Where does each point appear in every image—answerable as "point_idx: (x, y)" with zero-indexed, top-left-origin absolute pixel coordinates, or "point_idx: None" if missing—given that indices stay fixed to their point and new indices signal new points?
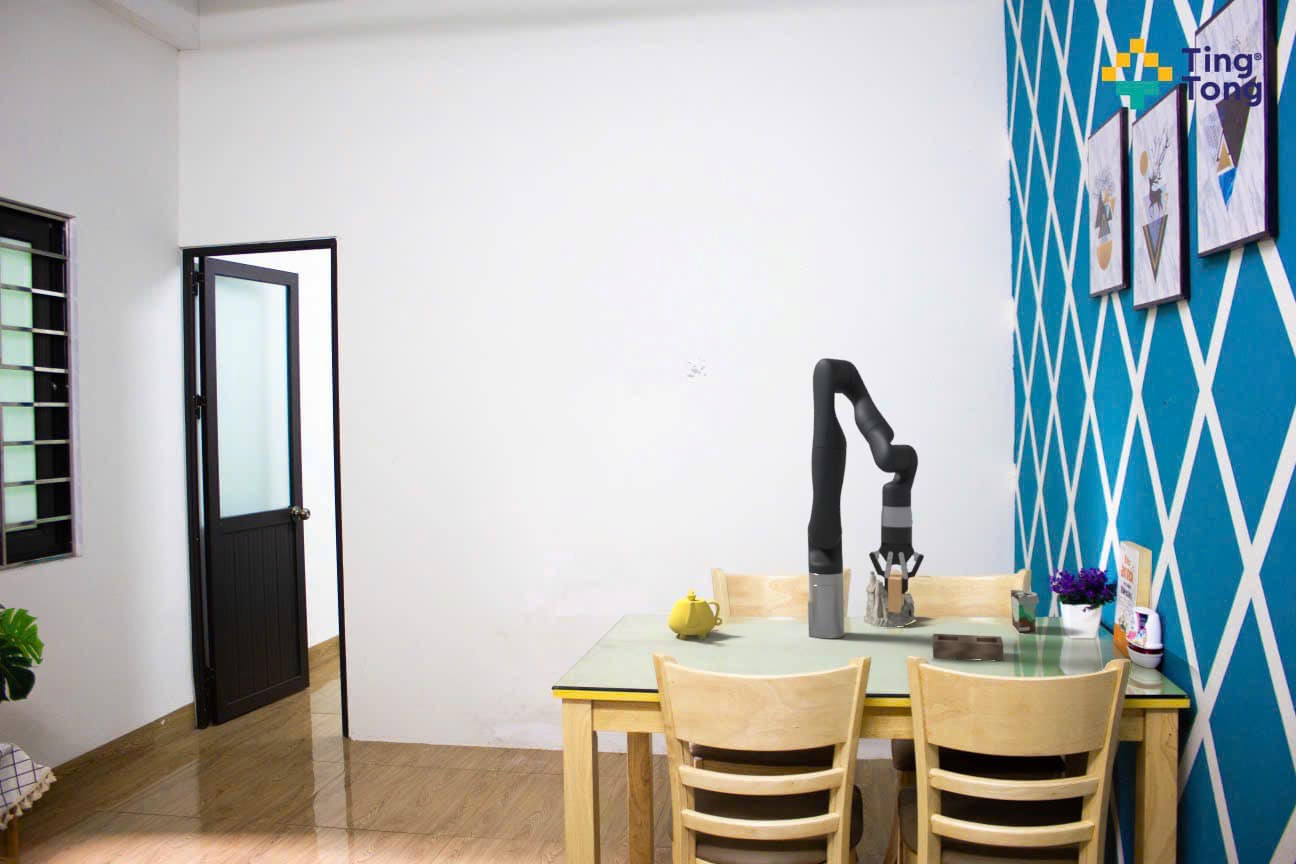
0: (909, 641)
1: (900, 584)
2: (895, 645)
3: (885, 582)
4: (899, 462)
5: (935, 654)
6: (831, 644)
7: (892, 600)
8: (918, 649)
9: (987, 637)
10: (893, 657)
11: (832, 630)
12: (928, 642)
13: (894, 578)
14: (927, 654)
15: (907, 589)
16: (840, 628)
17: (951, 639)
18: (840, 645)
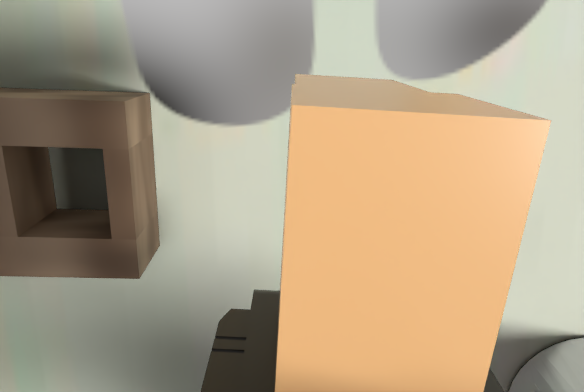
0: None
1: (295, 96)
2: None
3: (486, 384)
4: None
5: (134, 94)
6: (573, 256)
7: (376, 85)
8: (221, 236)
9: None
10: (323, 71)
11: (579, 364)
12: (189, 352)
13: (410, 225)
14: (179, 156)
15: (221, 324)
16: (545, 389)
17: (56, 232)
18: (537, 246)
